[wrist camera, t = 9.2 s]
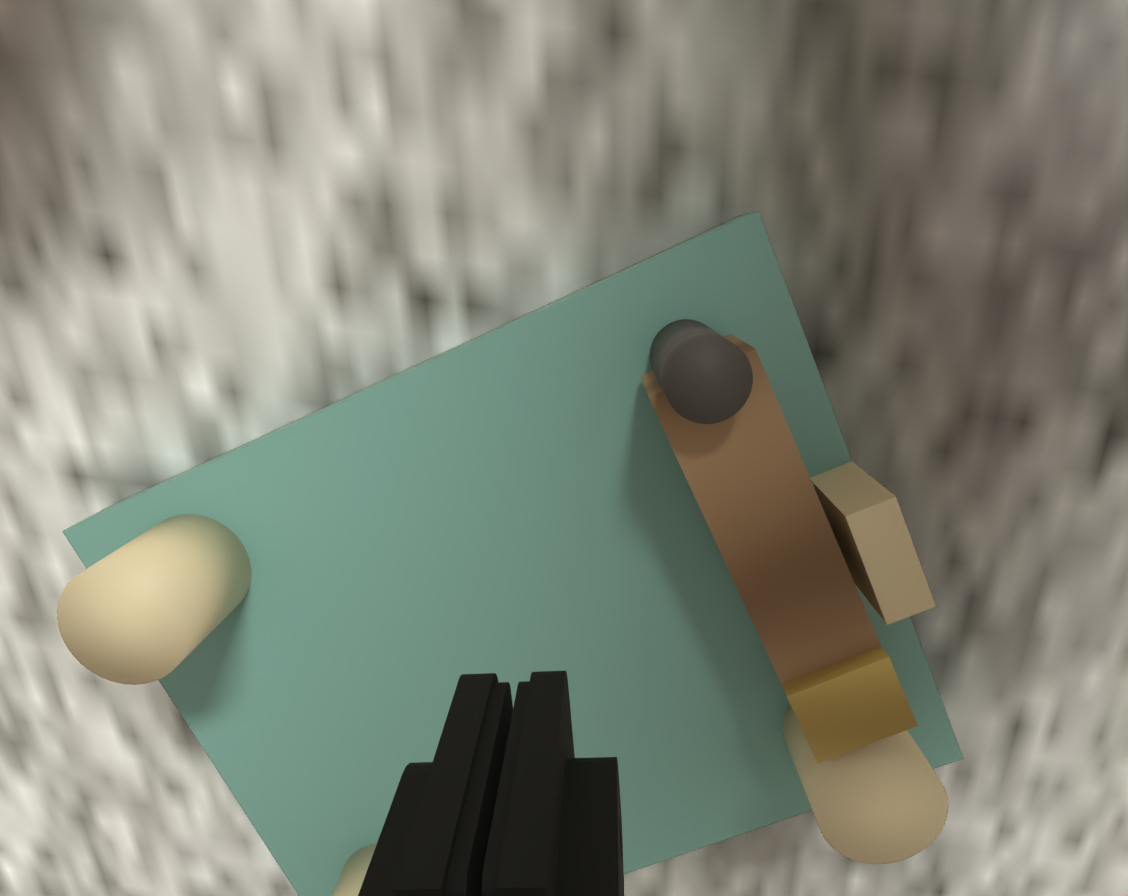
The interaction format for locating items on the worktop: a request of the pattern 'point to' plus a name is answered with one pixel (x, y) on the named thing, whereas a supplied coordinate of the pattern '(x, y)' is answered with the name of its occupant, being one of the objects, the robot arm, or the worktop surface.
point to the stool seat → (511, 586)
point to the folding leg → (774, 537)
